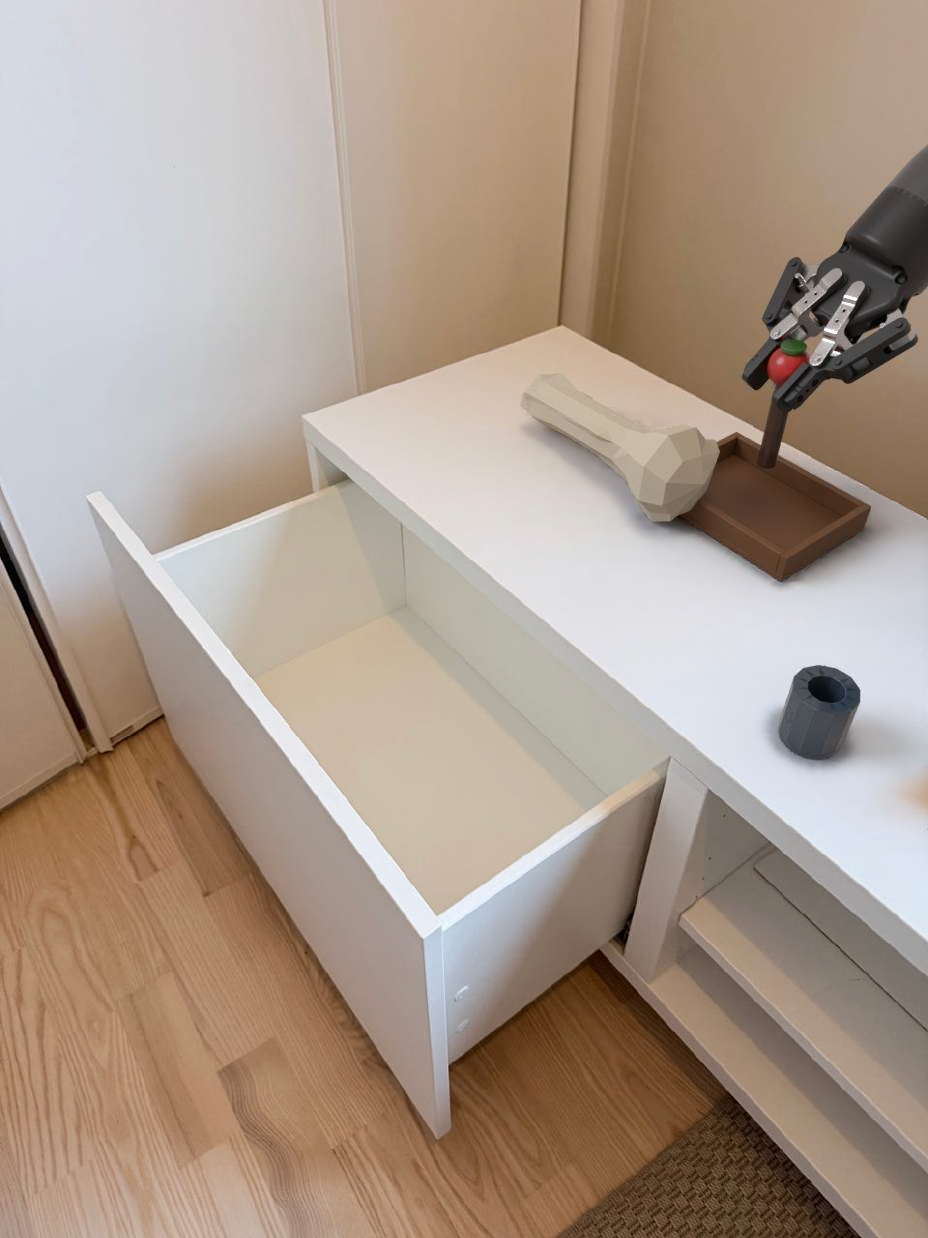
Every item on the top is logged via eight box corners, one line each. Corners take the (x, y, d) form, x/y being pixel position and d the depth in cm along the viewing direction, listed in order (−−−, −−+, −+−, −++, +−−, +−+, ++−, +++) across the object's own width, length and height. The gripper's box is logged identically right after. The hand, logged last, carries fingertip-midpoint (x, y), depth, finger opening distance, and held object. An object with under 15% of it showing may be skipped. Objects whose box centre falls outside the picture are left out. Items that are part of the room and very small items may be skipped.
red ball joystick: (793, 471, 81) (824, 352, 73) (756, 477, 81) (784, 358, 73) (775, 450, 84) (803, 332, 76) (740, 455, 83) (764, 337, 75)
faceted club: (652, 543, 81) (487, 427, 97) (718, 530, 85) (550, 422, 101) (683, 448, 76) (504, 343, 92) (750, 440, 81) (569, 341, 97)
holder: (853, 753, 66) (873, 706, 62) (795, 765, 65) (812, 719, 62) (822, 707, 69) (840, 660, 65) (767, 718, 68) (781, 671, 65)
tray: (864, 529, 84) (872, 506, 82) (780, 582, 79) (787, 558, 77) (731, 453, 93) (736, 431, 91) (649, 497, 88) (653, 474, 86)
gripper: (843, 157, 73) (690, 336, 78) (984, 219, 64) (800, 417, 69) (877, 214, 79) (732, 377, 84) (1012, 278, 69) (839, 458, 74)
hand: (764, 394), depth 76 cm, fingers closed on red ball joystick, 3 cm apart
